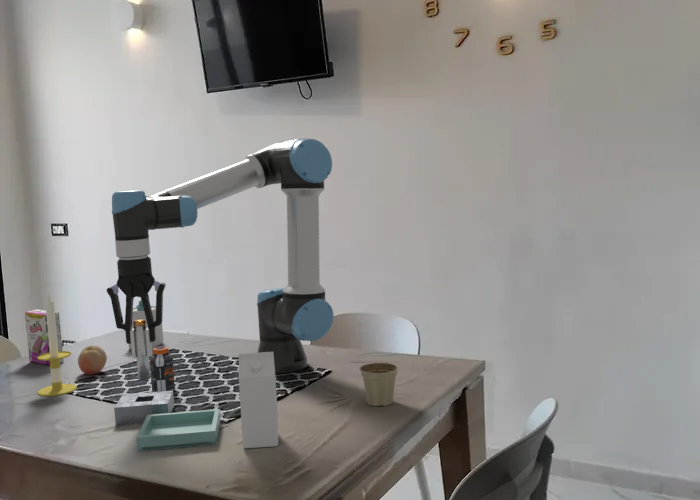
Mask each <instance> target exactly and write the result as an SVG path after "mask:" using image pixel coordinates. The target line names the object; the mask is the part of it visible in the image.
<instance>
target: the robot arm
mask: <svg viewBox="0 0 700 500" xmlns="http://www.w3.org/2000/svg"><path fill="white" fill-rule="evenodd" d="M331 155H332V154H331V153H330V151H329V149H328V147H326V146H325V145H324V143H323V142H321V141H320V140H317V139H314V138H305V137H304V138H298V139H293V140H284V141H283V140H282V141H279V142H275V143H274V144H271V145H269V146H267V147H264V148H263V149H260V150H258V151H256V152H253V153H250V154H248V155H246V156H245V157H244V160H243V161H240V162H238V163H237V162H236V163H235V164H232V165H230V166H227V167H225V168H221V169H218V170H216V171H214V172H213V171H212V172H211V173H208V174H206V175H202V176H200V177H197V178H195V179H192V180H189V181H187V182H184V183H182V184H178V185H176V186H174V187H173V186H172V187H171V188H168V189H164V190H162V191H160V192H157V193H155V194H152V195H146V191H144V190H142V189H141V190H123V191H122V190H121V191H115V192H113V194H112V196H111V214H112V221H113V222H112V223H113V229H114V240H115V241H114V243H115V254H116V255H115V256H116V257H117V258H118V260H117V261H116V263H117V264H116V266H117V276H118V278H117V280H116V284H114V285H111V286H109V287H107V288H106V293H107V294H108V295H109V298H110V301H111V306H112V310H113V315H114V321H115V325H116V326H115V327H116V328H117V329H118V330H119V329H120V330H123V331H124V332H125V342H126V344H128V345H129V344H131V349H130V350H131V358H132V359H137V358H136V347H135V336H134V328H133V329H132V315H133V308H134V299H135V298H140V300H141V301H142V303H143V308H144V312H145V316H146V320H147V324H148V327H147V328H146V329H145V334H146V346H147V357H149V358H151V357H152V356H153V355H154V354H153V349H152V342H154V341H155V339H156V335H155V327H156V326H159V325H160V324H161V323H162V324H163V316H164V315H163V313H164V312H163V309H164V305H163V303H164V291H165V288H166V287H167V285H166V283H165V282H159V281H157V280H156V279H155V277H154V275H153V269H152V260H151V259H152V258H151V257H150V254H151V247H150V245H151V244H150V234H149V231H152V230H153V231H154V230H163V229H165V230H166V229H177V228H181V229H182V228H186V227H191V226H193V225H195V223H196V222H197V219H198V209H201V208H204V207H207V206H209V205H212V204H214V203H216V202H219V201H221V200H224V199H226V198H230V197H231V196H235V195H237V194H239V193H242V192H244V191H247V190H249V189H252V188H257V189H261V188H265V187H267V186H271V185H278V184H280V190H281V192H283V193H284V195H285V196H286V218H287V219H286V220H287V221H286V227H287V229H286V230H287V239H286V240H287V285H286V286H285V287H280V288H279V287H277V288H273V289H272V288H271V289H264V290H261V291H260V292H258V294H257V302H256V306H257V316H258V317H257V319H258V331H259V332H258V334H259V345H258V348H257V352H256V353H261V352H273V354H274V364H275V375H276V374H286V373H287V374H289V373H294V372H298V371H301V370H303V369H306V367H307V366H308V356H307V354H306V352H305V348H304V347H303V344H302V341H305V342H306V341H307V342H315V341H318V340H319V341H320V339H322V338H324V337H325V336H326V335H327V333H328V332H329V331H330V329H331V328H332V326H333V323H334V310H333V307H332V306H331V305H330V302H328V301H327V300H326V289H325V288H324V286H322V285H321V283H320V282H321V281H320V280H321V277H320V276H321V275H320V210H319V209H320V206H319V205H320V201H319V197H320V195H321V194H322V193H323V191H324V190H325V181H326V180H327V179H328V178H329V175H330V174H331V172H332V169H333V159H332V156H331ZM153 286H154V291H155V292H156V294H155V295H156V296H155V297H156V299H155V306H156V320H155V321H154V318H153V314H152V310H151V302H150V296H149V292H150V291H151V289H152V288H153ZM119 290H120V291H121V292H122V293H123V294H124V295H125V313H124V314H125V316H124V317H123V312H122V308H121V304H120V303H121V302H120V298H119V292H120V291H119Z"/></svg>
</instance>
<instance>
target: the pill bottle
mask: <svg viewBox="0 0 700 500" xmlns="http://www.w3.org/2000/svg"><path fill="white" fill-rule="evenodd" d="M169 349H170V348H169V347H168V346H157V347H155V348H153V349H152V353H153V354H152V356H151V357H149V364H150V376H151V379H150V380H151V382H150V384H151V390H152V391H153V392H162V391H173V390H174V389H175V386H176V385H175V383H176V382H175V372H174V371H175V370H174V369H175V368H174V367H175V366H174V357H173V355H171V354H170V353H169V352H170V350H169Z"/></svg>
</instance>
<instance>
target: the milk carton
mask: <svg viewBox="0 0 700 500" xmlns="http://www.w3.org/2000/svg"><path fill="white" fill-rule="evenodd" d="M276 383H277V381H276V374H275V364H274V354H273V352H261V353H257V352H248V353H245V352H244V353H239V354H238V384H239V385H238V387H239V388H238V389H239V402H240V417H241V420H240V422H241V433H242V435H241V437H242V447H243V449H253V448H255V449H256V448H267V447H268V448H269V447H278V446H279V433H280V432H279V417H278V415H279V413H278V402H277V401H278V398H277V397H278V396H277V384H276Z"/></svg>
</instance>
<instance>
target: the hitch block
mask: <svg viewBox="0 0 700 500" xmlns="http://www.w3.org/2000/svg"><path fill="white" fill-rule="evenodd" d="M174 398H175V397H174V390H170V391H162V392H155V391H153V392H151V391H150V392H140V393H139V392H138V393H126V394H121V397H120V398H119V400H118V401H117V403H116V404H115V406H114V407H113V410H114V421H115V425H117V426H118V425H129V424H139V423H141V424H143V423H144V421H145V419H146V417H147V415H152V414H164V413H173V412H174V411H173V410H174V409H173V408H175V399H174Z"/></svg>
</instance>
